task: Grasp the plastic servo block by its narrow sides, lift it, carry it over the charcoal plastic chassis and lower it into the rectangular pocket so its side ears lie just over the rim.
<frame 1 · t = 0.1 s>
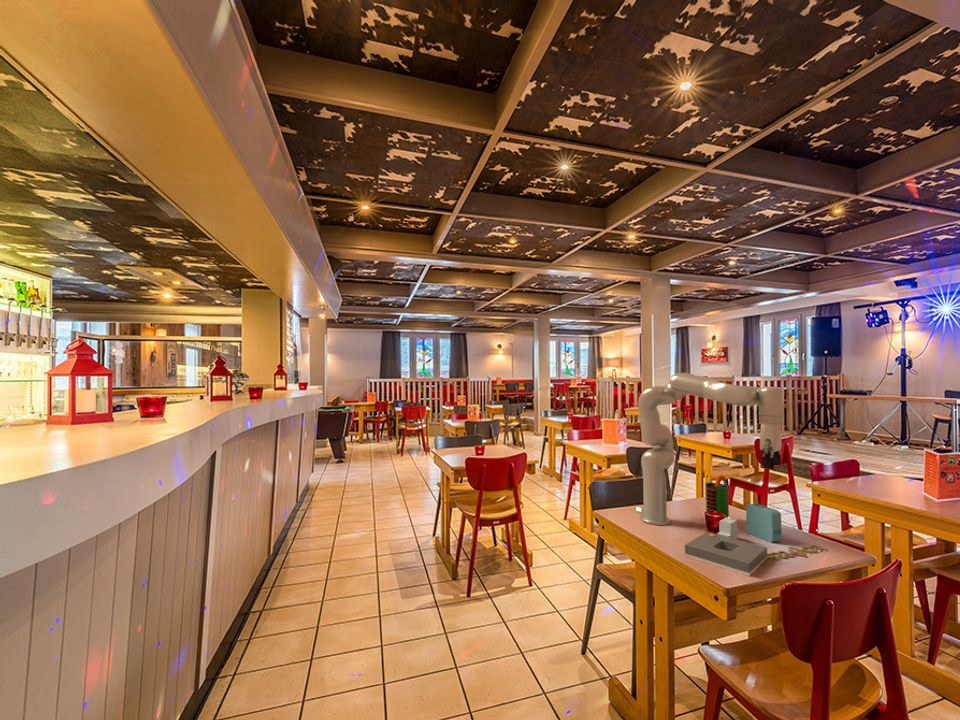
hand: (772, 466, 157), 31 cm above the table, tool pointing down, fingers open, 9 cm apart
text sign: (783, 557, 152), on the table
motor: (717, 521, 190), on the table
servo: (728, 541, 166), on the table
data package: (763, 538, 170), on the table
chassis: (725, 557, 150), on the table
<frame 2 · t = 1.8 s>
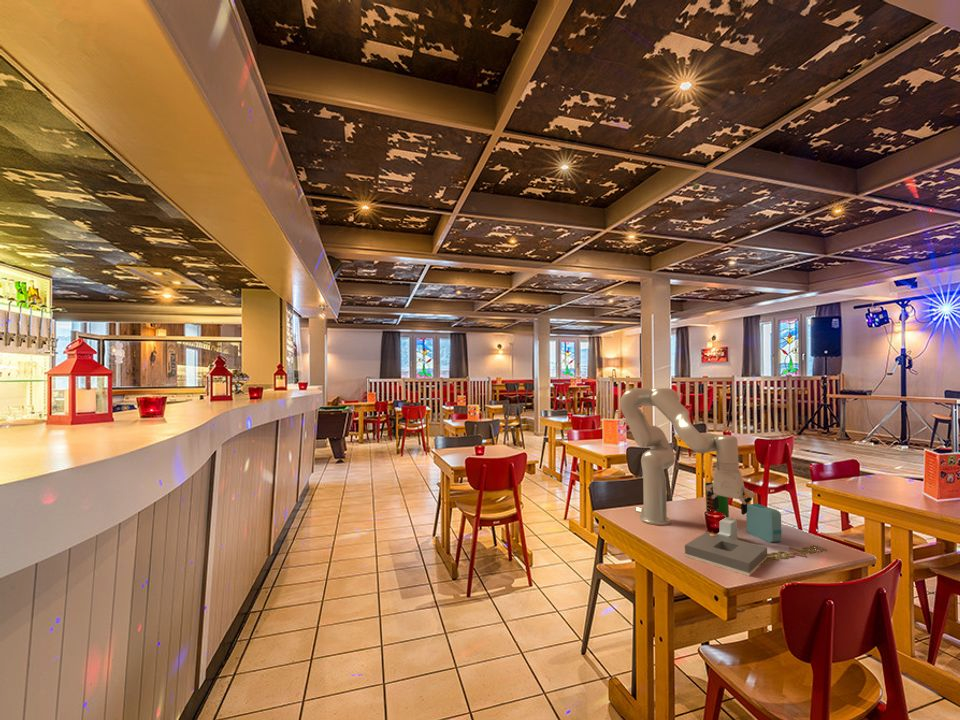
hand: (729, 511, 166), 12 cm above the table, tool pointing down, fingers open, 9 cm apart
nothing on the table moved.
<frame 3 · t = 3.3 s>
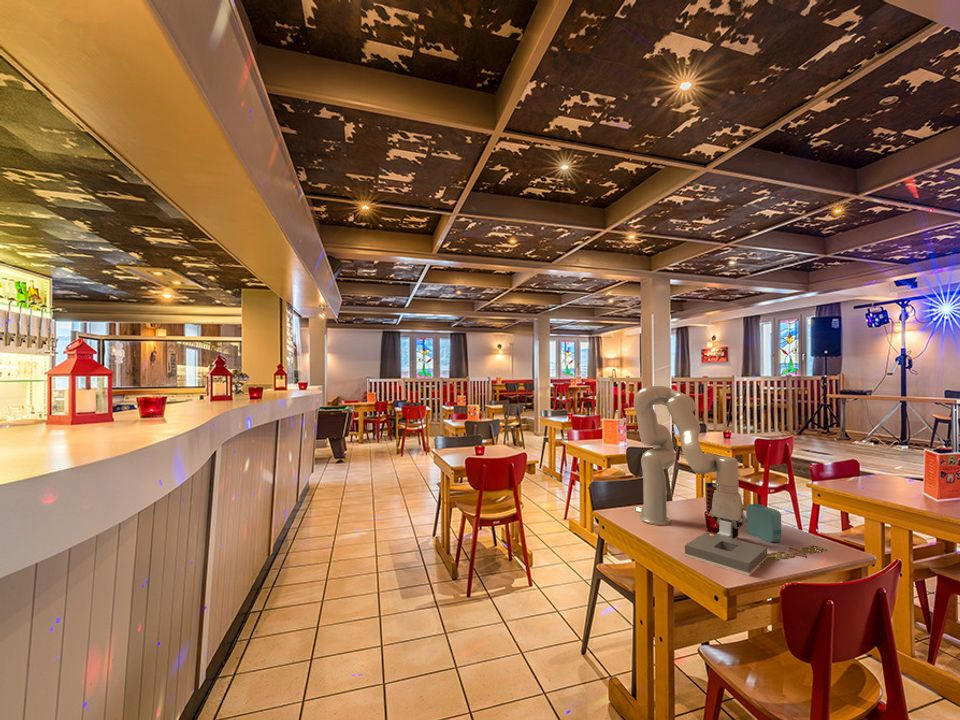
hand: (728, 535, 166), 2 cm above the table, tool pointing down, fingers closed on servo, 4 cm apart
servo: (728, 540, 166), on the table, touching gripper
everything else where it was.
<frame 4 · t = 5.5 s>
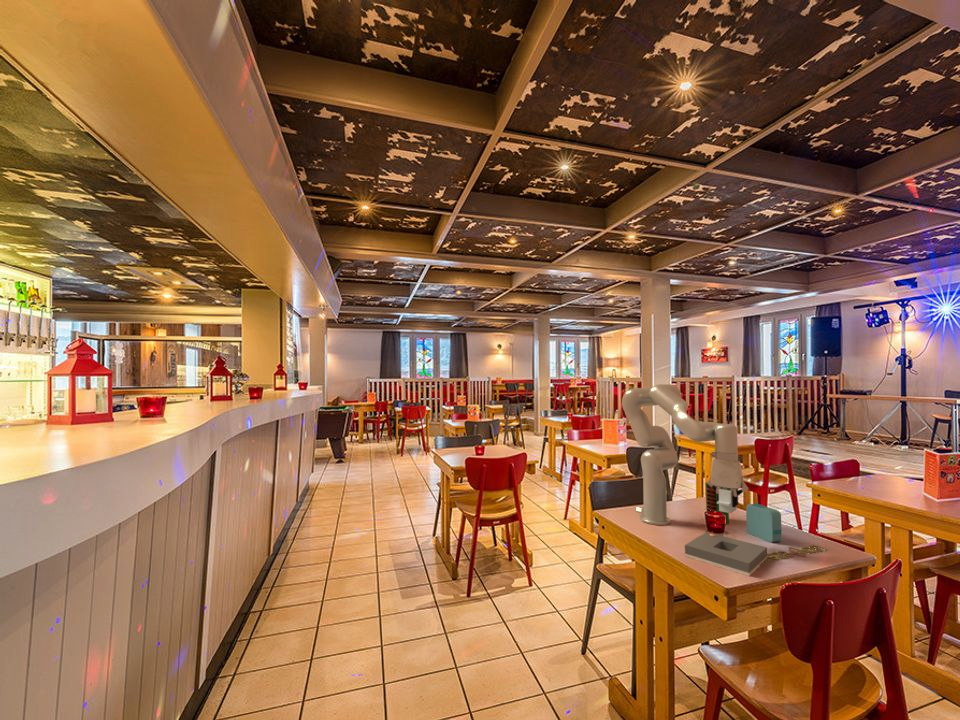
hand: (727, 504, 161), 16 cm above the table, tool pointing down, fingers closed on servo, 4 cm apart
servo: (727, 510, 161), point 13 cm above the table, touching gripper
everything else where it was.
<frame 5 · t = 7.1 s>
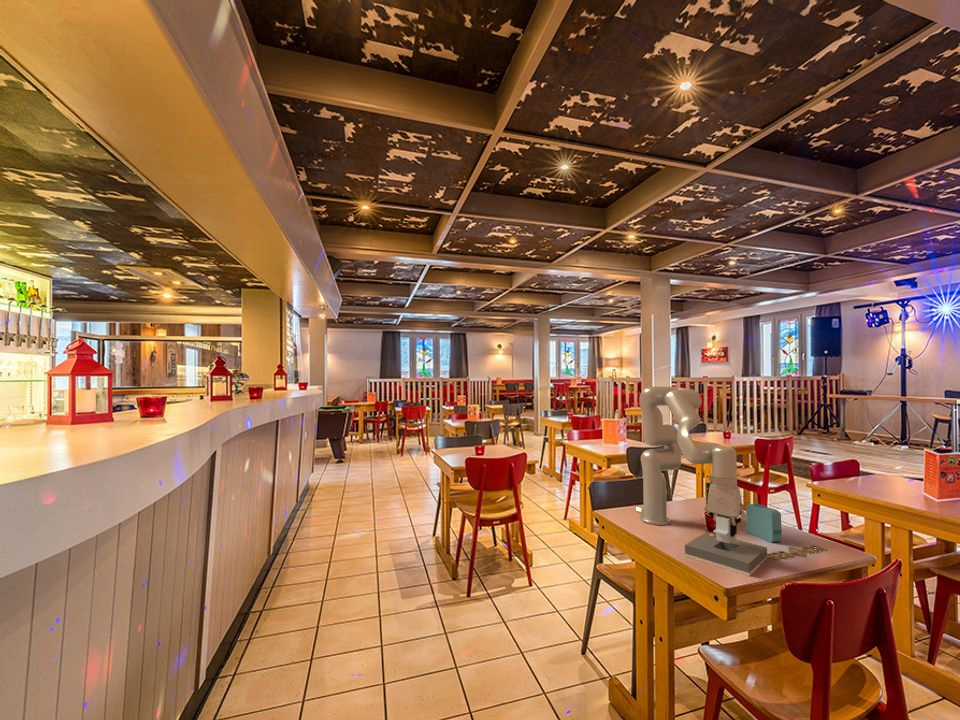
hand: (725, 533, 151), 8 cm above the table, tool pointing down, fingers closed on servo, 4 cm apart
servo: (725, 539, 150), point 6 cm above the table, touching gripper
everything else where it was.
when the fingers open (5 cm above the table, at t = 8.1 s): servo drops 2 cm, resting on chassis.
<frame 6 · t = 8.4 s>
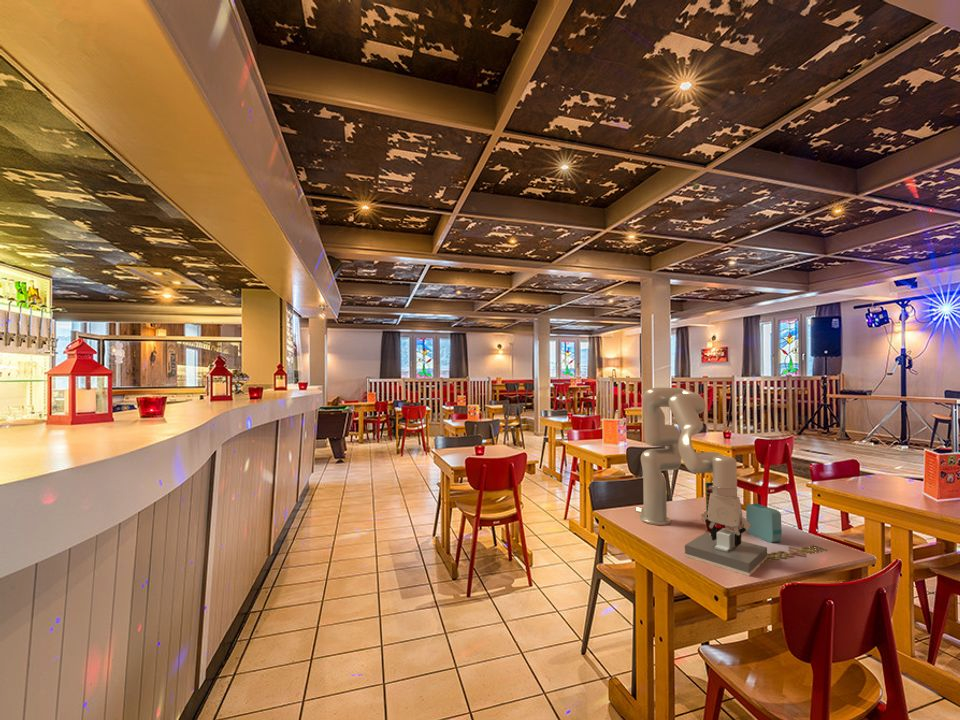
hand: (725, 541, 150), 6 cm above the table, tool pointing down, fingers open, 6 cm apart
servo: (726, 554, 150), point 1 cm above the table, touching chassis
everything else where it was.
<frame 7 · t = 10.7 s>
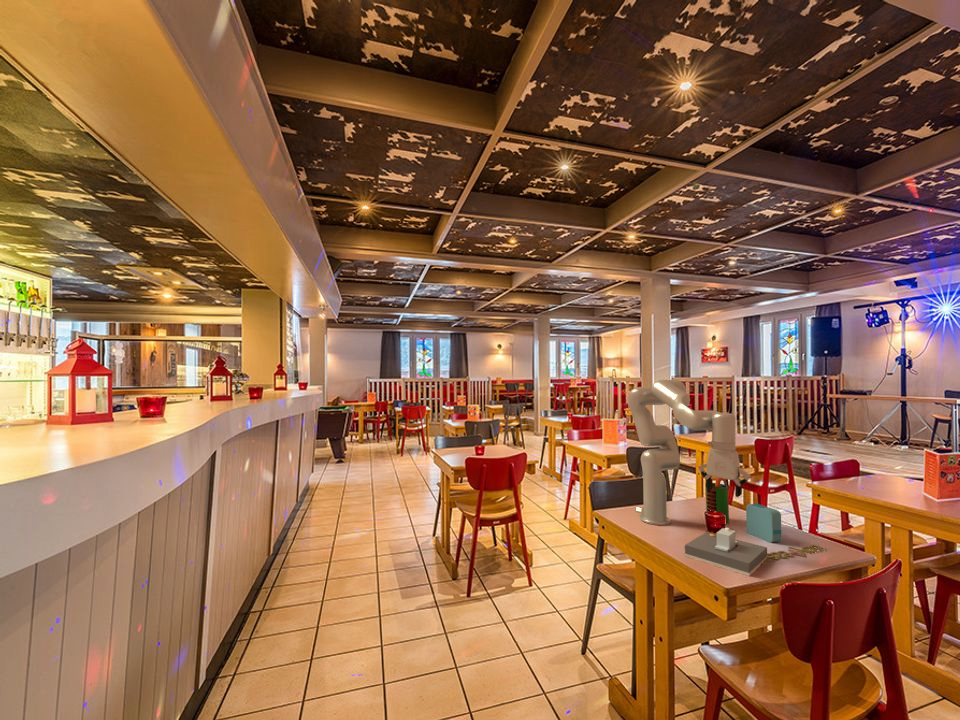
hand: (723, 493, 156), 21 cm above the table, tool pointing down, fingers open, 9 cm apart
nothing on the table moved.
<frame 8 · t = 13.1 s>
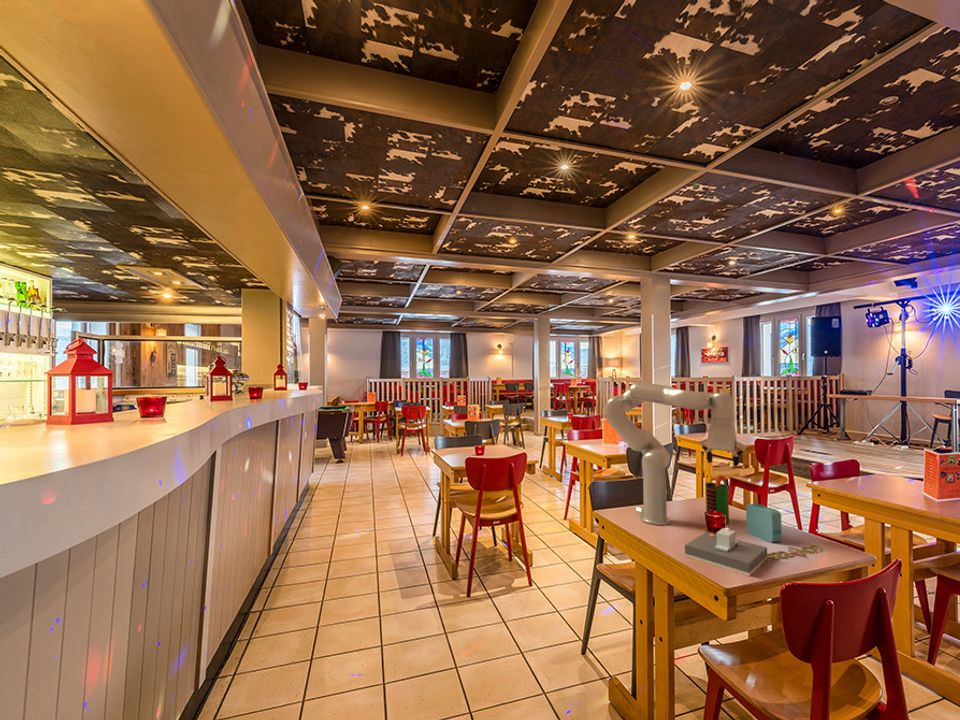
hand: (722, 464, 175), 28 cm above the table, tool pointing down, fingers open, 9 cm apart
nothing on the table moved.
at the end: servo 0.1 cm off-centre on the chassis, point 1.0 cm above the chassis's base; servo tilted 0°; the gripper is holding nothing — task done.
